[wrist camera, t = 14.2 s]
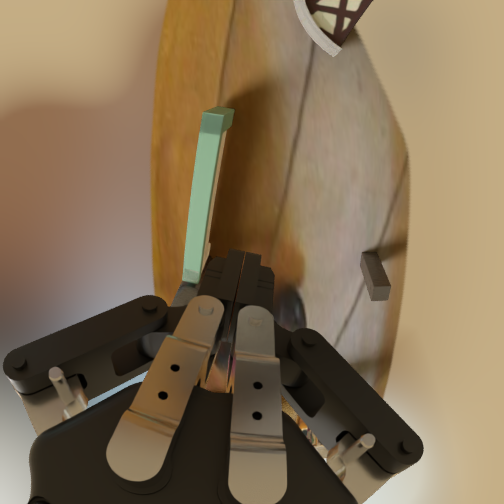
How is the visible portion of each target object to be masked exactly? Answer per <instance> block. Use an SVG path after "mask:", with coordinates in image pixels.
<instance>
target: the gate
mask: <svg viewBox="0 0 504 504" xmlns="http://www.w3.org/2000/svg"><path fill="white" fill-rule="evenodd" d="M234 111H235V109H231V108H225V107H219V106H217V107H215V108H212V109H209V110H207V111H204V112H203V115H202V121H201V127H200V133H199V140H198V146H197V153H196V160H195V167H194V175H193V182H192V190H191V198H190V207H189V216H188V225H187V234H186V245H185V255H184V267H183V279H182V280H183V281H187V282H191V283H195V284H198V283H199V281H200V278H201V273H202V270H203V268H204V265H205V263H206V260H207V258H208V256H209V251H210V245H211V243H208V241H209V235H210V228H211V221H212V215H213V208H214V202H215V196H216V190H217V184H218V178H219V172H220V166H221V160H222V154H223V149H224V143H225V138H226V132H227V129H228V128H230V127H231V126H232V121H233V116H234Z"/></svg>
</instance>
